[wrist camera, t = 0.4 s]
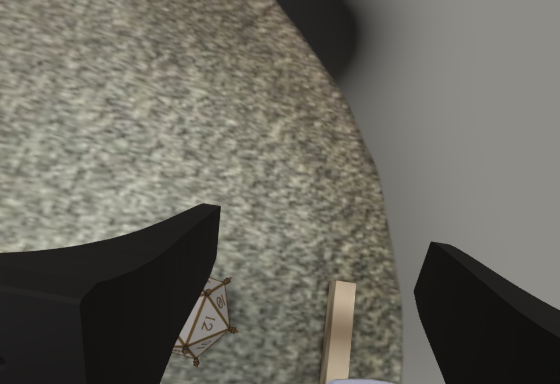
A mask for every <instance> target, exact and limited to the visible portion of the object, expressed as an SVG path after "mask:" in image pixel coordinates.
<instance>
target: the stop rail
mask: <svg viewBox="0 0 560 384" xmlns="http://www.w3.org/2000/svg"><path fill="white" fill-rule="evenodd" d="M355 289H356V284H355V283H349V282H342V281H330V285H329V294H328V304H327V313H326V323H325V332H324V342H323V351H322V361H321V370H320V380H319V384H326V383H328V382H330V381H332V380H334V379H348V372H349V361H350V349H351V337H352V325H353V313H354V301H355Z"/></svg>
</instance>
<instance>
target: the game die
mask: <svg viewBox="0 0 560 384" xmlns="http://www.w3.org/2000/svg"><path fill="white" fill-rule="evenodd" d="M231 278H232V277H230V278H226V279H225V280H224V282H221V281H218V280H216V279H213V278H210V277H209V279H208V282H207V284H206V286H205V287H204V289H203V291H202V293H201V295H200V297H199V299H198V301H197V303H196V305H195V307H194V308H193V310H192V312H191V314H190V316H189V318H188V320H187V322H186V323H185V325H184V327H183V329H182V331H181V333H180V335H179V337H178V339H177V342H176V344H175V346H174V348H173V351H172V353H175V354H178V355H182V356H186V357H189V358H193V359H194V361H193V362H194V364H193V365H194V366H195V367H196V368H197V367H198V365H199V363H200V362H199V360H198V357H199V356H200V355H201V354H202V353H203V352H204V351H205V350H207V349H208V348H209V347H210V346H211V345H212V344H214V343H215V342H216V341H217V340H218V339H219V338H220V337H222V336H223V335H224V334H225V333H226V332H227V331H230V332H231V333H233V334H234V333H238V330H237V329H236V327H235V328H234V327H230V321H229V313H228V305H227V297H226V288H225V285H226V284H228V283H229V282H230V280H231Z"/></svg>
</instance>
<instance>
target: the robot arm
mask: <svg viewBox="0 0 560 384" xmlns="http://www.w3.org/2000/svg"><path fill="white" fill-rule="evenodd" d="M220 210H221V206H216V205H210V204H205V203H203V204H200V205H197V206H195V207H193V208H191V209H188V210H186V211H184V212H182V213H180V214H178V215H176V216H173V217H171V218H169V219H167V220H164V221H162V222H159V223H157V224H154V225H152V226H149V227H147V228H144V229H141V230H139V231H136V232H132V233H129V234H126V235H122V236H119V237H115V238H111V239H107V240H102V241H98V242H93V243H88V244H83V245H78V246H72V247H65V248H57V249H49V250H40V251H28V252H10V253H0V384H160V381H161V379H162V376H163V374H164V371H165V369H166V366H167V364H168V361H169V358H170V356H171V353H172V351H173V348H174V346H175V344H176V342H177V339H178V337H179V335H180V333H181V331H182V329H183V327H184V325H185V323H186V322H187V320H188V318H189V316H190V314H191V312H192V310H193V308H194V307H195V305H196V303H197V301H198V299H199V297H200V295H201V293H202V291H203V289H204V287H205V286H206V284H207V282H208V279H209V277H210V274H211V271H212V268H213V266H214V263H215V260H216V256H217V244H218V233H219V222H220ZM414 295H415V300H416V305H417V309H418V313H419V317H420V320H421V322H422V325H423V328H424V330H425V333H426V335H427V338H428V340H429V343H430V345H431V348H432V350H433V353H434V355H435V358H436V360H437V363H438V365H439V368H440V370H441V373H442V375H443V378H444V381H445V383H446V384H560V310H558V309H556V308H554V307H552V306H550V305H549V304H547V303H545V302H543V301H541V300H540V299H538V298H536V297H534V296H533V295H531V294H529V293H528V292H526V291H524V290H522V289H521V288H519V287H518V286H516V285H514V284H512V283H511V282H509V281H508V280H506V279H505V278H503V277H502V276H500V275H499V274H497V273H495V272H494V271H492V270H491V269H489V268H488V267H486V266H485V265H483V264H482V263H480V262H479V261H477V260H475V259H474V258H472V257H471V256H469V255H468V254H466V253H464V252H462V251H461V250H459V249H457V248H456V247H454V246H451V245H449V244H443V243H437V242H431V243H430V246H429V249H428V251H427V254H426V257H425V260H424V263H423V266H422V269H421V271H420V274H419V277H418V280H417V283H416V286H415V289H414ZM326 384H396V383H390V382H384V381H379V380H373V379H334V380H332V381H330V382H328V383H326Z"/></svg>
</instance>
